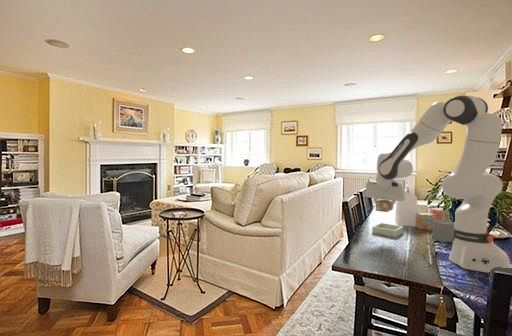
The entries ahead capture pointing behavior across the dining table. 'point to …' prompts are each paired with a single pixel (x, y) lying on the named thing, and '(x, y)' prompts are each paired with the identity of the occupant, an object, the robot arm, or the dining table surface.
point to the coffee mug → (443, 230)
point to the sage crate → (387, 230)
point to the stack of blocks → (431, 218)
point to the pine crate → (383, 205)
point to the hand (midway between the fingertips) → (384, 207)
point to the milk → (407, 209)
